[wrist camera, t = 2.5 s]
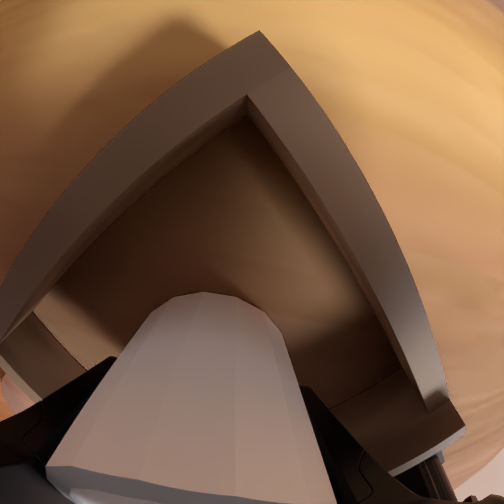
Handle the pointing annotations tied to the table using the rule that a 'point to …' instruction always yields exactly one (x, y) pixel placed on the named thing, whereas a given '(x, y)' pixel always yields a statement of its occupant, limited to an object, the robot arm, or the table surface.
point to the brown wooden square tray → (318, 194)
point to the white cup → (195, 416)
